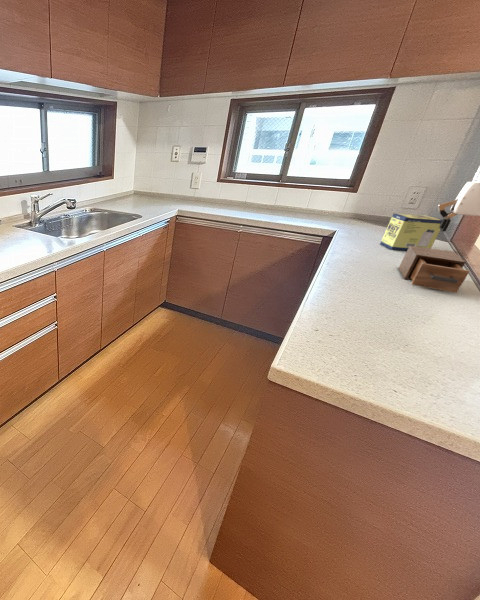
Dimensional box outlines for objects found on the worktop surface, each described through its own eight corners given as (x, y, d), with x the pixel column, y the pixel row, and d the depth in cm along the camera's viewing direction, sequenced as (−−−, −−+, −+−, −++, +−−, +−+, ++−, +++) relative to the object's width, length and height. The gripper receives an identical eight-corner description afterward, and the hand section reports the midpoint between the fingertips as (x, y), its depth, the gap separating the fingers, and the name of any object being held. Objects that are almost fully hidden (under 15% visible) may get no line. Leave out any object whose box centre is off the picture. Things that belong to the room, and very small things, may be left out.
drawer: (461, 297, 106) (474, 275, 102) (414, 289, 111) (425, 267, 108) (446, 280, 119) (457, 260, 116) (405, 273, 125) (415, 254, 121)
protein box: (378, 243, 165) (392, 213, 158) (415, 246, 162) (431, 215, 155) (390, 249, 156) (405, 217, 149) (429, 253, 153) (446, 220, 146)
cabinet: (450, 287, 116) (465, 262, 111) (404, 279, 122) (416, 254, 118) (440, 275, 126) (454, 251, 122) (398, 268, 133) (409, 245, 129)
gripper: (529, 179, 98) (496, 234, 106) (449, 175, 107) (424, 227, 115) (540, 181, 93) (505, 239, 100) (455, 177, 102) (429, 231, 109)
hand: (462, 232), depth 107 cm, fingers open, 9 cm apart
